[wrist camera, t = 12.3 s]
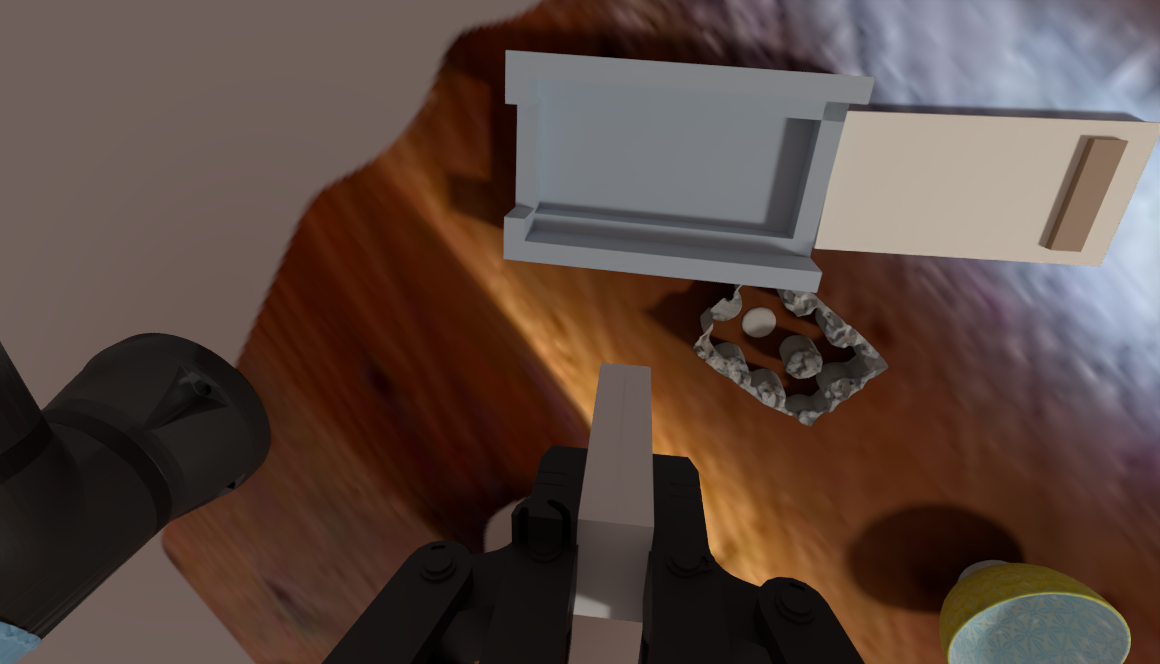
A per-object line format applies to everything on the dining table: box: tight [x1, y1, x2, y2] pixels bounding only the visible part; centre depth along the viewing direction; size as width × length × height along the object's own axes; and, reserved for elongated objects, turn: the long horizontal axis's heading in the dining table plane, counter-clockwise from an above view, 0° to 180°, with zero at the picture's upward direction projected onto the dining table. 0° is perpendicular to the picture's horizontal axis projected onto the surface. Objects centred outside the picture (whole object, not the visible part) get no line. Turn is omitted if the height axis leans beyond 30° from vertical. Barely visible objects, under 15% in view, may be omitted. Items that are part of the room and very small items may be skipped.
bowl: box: [939, 560, 1131, 664], centre depth 41 cm, size 11×12×6 cm
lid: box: [813, 110, 1160, 266], centre depth 32 cm, size 16×8×2 cm, turn 88°
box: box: [504, 50, 875, 293], centre depth 31 cm, size 18×11×5 cm, turn 86°
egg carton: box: [693, 284, 888, 426], centre depth 36 cm, size 11×8×4 cm
